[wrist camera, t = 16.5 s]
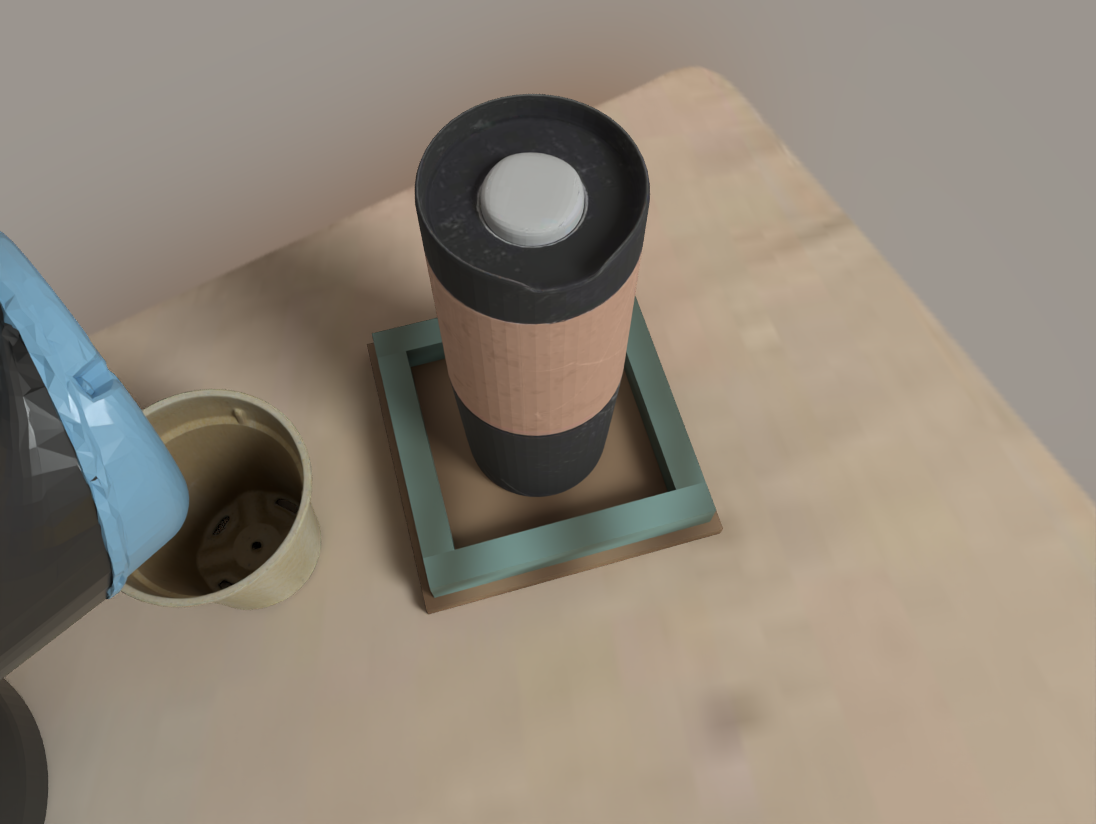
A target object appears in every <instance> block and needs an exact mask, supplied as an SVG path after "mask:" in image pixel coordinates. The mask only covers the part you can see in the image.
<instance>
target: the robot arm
mask: <svg viewBox="0 0 1096 824" xmlns="http://www.w3.org/2000/svg"><path fill="white" fill-rule="evenodd" d="M188 508H189V492H188V488H187V484H186V481H185V479H184V477H183V475H182V473H181V471H180V469H179V467H178V466H177V464H176V462H175V460H174V459H173V457H172V456H171V454H170V452H169V451H168V449H167V448H166V446H165V444H164V443H163V441H162V440H161V438H160V437H159V435H158V434H157V432H156V431H155V429H154V428H153V426H152V425H151V424H150V422H149V421H148V419H147V418H146V416H145V415H144V413H143V412H142V410H141V409H140V408H139V406H138V405H137V403H136V402H135V401H134V399H133V398H132V397H131V395H130V394H129V392H128V391H127V390H126V388H125V387H124V386H123V384H122V383H121V382H120V381H119V379H118V378H117V377H116V376H115V374H113V373H112V372H111V371H109V369H108V368H107V365H106V361H105V360H104V359H103V358H102V356H101V355H100V354H99V352H98V351H97V350H96V348H95V347H94V346H93V344H92V343H91V341H90V339H89V338H88V336H87V334H86V333H85V332H84V330H83V329H82V328H81V326H80V325H79V324H78V322H77V321H76V319H75V318H74V317H73V315H72V314H71V313H70V312H69V310H68V309H67V307H66V306H65V305H64V304H63V302H62V301H61V300H60V298H59V297H58V296H57V295H56V293H55V292H54V291H53V289H52V288H51V287H50V286H49V284H48V283H47V282H46V281H45V279H44V278H43V277H42V276H41V274H40V273H39V272H38V271H37V269H36V268H35V267H34V266H33V265H32V263H31V262H30V261H29V260H28V258H26V256H25V255H24V254H23V253H22V252H21V250H20V249H19V248H18V247H17V246H16V245H15V244H14V243H13V241H11V240H10V239H9V238H8V237H7V236H6V235H5V234H4V233H2V232H1V231H0V824H44V821H45V816H46V808H47V798H48V771H47V761H46V755H45V749H44V745H43V741H42V738H41V735H40V732H39V729H38V726H37V724H36V722H35V719H34V717H33V715H32V714H31V712H30V710H29V708H28V706H27V705H26V703H25V702H24V701H23V699H22V698H21V696H20V695H19V694H18V693H17V692H16V690H15V689H14V688H13V687H12V686H11V685H10V684H9V683H8V682H7V681H5V680H4V679H3V678H4V677H5V676H6V675H8V674H9V673H10V672H12V671H13V670H14V669H15V668H17V667H18V666H19V665H21V664H22V663H23V662H25V661H26V660H27V659H28V658H30V657H31V656H32V655H34V654H35V653H36V652H38V651H39V650H40V649H41V648H43V647H44V646H45V645H47V644H48V643H49V642H51V641H52V640H53V639H54V638H56V637H57V636H58V635H60V634H61V633H62V632H63V631H65V630H66V629H67V628H69V627H70V626H71V625H73V624H74V623H75V622H76V621H78V620H79V619H80V618H82V617H83V616H84V615H86V614H87V613H88V612H89V611H91V610H92V609H93V608H95V607H96V606H97V605H99V604H100V603H101V602H102V601H104V600H105V599H110V598H112V597H113V596H114V595H116V594H117V593H118V592H120V591H121V589H122V588H123V586H124V585H125V582H126V580H127V577H128V576H129V575H130V574H131V573H133V572H134V571H135V570H136V569H137V568H138V567H139V566H141V565H142V564H143V563H144V562H145V561H146V560H147V559H149V558H150V557H151V556H152V555H153V554H154V553H156V552H157V551H158V550H159V549H160V548H161V547H162V546H164V545H165V544H166V543H167V542H168V541H169V540H170V539H172V538H173V537H174V536H175V535H176V533H177V532H178V531H179V530H180V528H181V527H182V525H183V523H184V521H185V519H186V516H187V513H188Z"/></svg>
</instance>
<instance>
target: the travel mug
mask: <svg viewBox="0 0 1096 824" xmlns="http://www.w3.org/2000/svg"><path fill="white" fill-rule="evenodd" d="M649 202H650V183H649V177H648V171H647V168H646V165H645V162H644V159H643V157H642V155H641V153H640V151H639V149H638V147H637V145H636V144H635V143H634V141H633V140H632V138H631V137H630V136H629V134H628V133H627V132H626V131H625V130H624V129H623V128H622V127H621V126H620V125H619V124H617V123H616V122H615V121H614V120H612V119H611V118H610V117H608V116H607V115H605V114H604V113H602V112H600V111H599V110H597V109H595V108H593V107H591V106H589V105H586V104H584V103H580V102H578V101H575V100H572V99H568V98H564V97H560V96H553V95H545V94H523V95H512V96H507V97H501V98H498V99H494V100H490V101H487V102H485V103H482V104H480V105H477V106H475V107H473V108H471V109H469V110H467V111H465V112H463V113H461V114H460V115H459V116H457V117H456V118H454V119H453V120H451V121H450V122H449V123H448V124H447V125H446V126H444V127H443V128H442V129H441V130H440V131H439V133H438V134H437V135H436V136H435V137H434V138H433V139H432V141H431V142H430V144H429V145H428V147H427V149H426V150H425V153H424V155H423V157H422V159H421V161H420V164H419V167H418V170H417V175H416V181H415V205H416V211H417V216H418V221H419V226H420V231H421V236H422V241H423V246H424V251H425V257H426V262H427V267H428V272H429V277H430V282H431V287H432V292H433V297H434V302H435V308H436V313H437V318H438V323H439V328H440V333H441V338H442V343H443V348H444V354H445V359H446V364H447V369H448V374H449V377H450V382H451V385H452V389H453V392H454V395H455V399H456V402H457V406H458V409H459V413H460V416H461V420H462V423H463V427H464V430H465V433H466V437H467V440H468V443H469V446H470V449H471V452H472V455H473V457H474V459H475V461H476V463H477V465H478V466H479V468H480V469H481V471H482V472H483V473H484V474H485V475H486V476H487V477H488V478H489V479H490V480H491V481H492V482H494V483H495V484H496V485H498V486H500V487H501V488H503V489H505V490H507V491H509V492H512V493H515V494H518V495H522V496H528V497H545V496H551V495H556V494H559V493H562V492H565V491H567V490H569V489H571V488H573V487H574V486H576V485H577V484H579V483H580V482H582V481H583V480H584V479H585V478H586V477H587V476H588V475H589V474H590V473H591V472H592V471H593V469H594V468H595V466H596V465H597V463H598V461H599V459H600V457H601V455H602V452H603V449H604V446H605V442H606V439H607V435H608V431H609V427H610V423H611V419H612V415H613V411H614V407H615V403H616V399H617V395H618V391H619V387H620V383H621V379H622V374H623V369H624V363H625V356H626V350H627V343H628V337H629V330H630V324H631V318H632V311H633V305H634V298H635V292H636V285H637V279H638V272H639V266H640V260H641V253H642V247H643V240H644V234H645V228H646V221H647V215H648V208H649Z"/></svg>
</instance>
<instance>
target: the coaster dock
mask: <svg viewBox="0 0 1096 824" xmlns="http://www.w3.org/2000/svg"><path fill="white" fill-rule="evenodd" d="M372 336H373V341H374V343H371V344H367V347H368V351H369V356H370V360H371V365H372V369H373V374H374V378H375V382H376V387H377V391H378V396H379V400H380V405H381V409H382V414H383V418H384V423H385V427H386V432H387V436H388V441H389V445H390V450H391V454H392V458H393V463H394V467H395V472H396V476H397V481H398V485H399V490H400V494H401V499H402V503H403V508H404V512H405V517H406V521H407V525H408V530H409V534H410V539H411V543H412V548H413V552H414V557H415V561H416V566H417V570H418V575H419V579H420V584H421V588H422V593H423V597H424V601H425V606H426V610H427V612H428V614H431V613H435V612H439V611H442V610H446V609H449V608H453V607H457V606H460V605H464V604H467V603H471V602H475V601H478V600H482V599H485V598H489V597H493V596H496V595H500V594H503V593H507V592H511V591H514V590H518V589H521V588H525V587H529V586H532V585H536V584H539V583H543V582H546V581H550V580H554V579H557V578H561V577H564V576H568V575H572V574H575V573H579V572H582V571H586V570H590V569H593V568H597V567H600V566H604V565H608V564H611V563H615V562H618V561H622V560H626V559H629V558H633V557H636V556H640V555H643V554H647V553H651V552H654V551H658V550H661V549H665V548H669V547H672V546H676V545H679V544H683V543H687V542H690V541H694V540H697V539H701V538H705V537H708V536H712V535H715V534H719V533H720V532H721V531H722V529H723V527H722V525H721V522H720V519H719V517H718V514H717V511H716V508H715V506H714V503H713V500H712V498H711V495H710V492H709V490H708V487H707V484H706V482H705V479H704V477H703V474H702V471H701V469H700V466H699V463H698V461H697V458H696V455H695V453H694V450H693V447H692V445H691V442H690V439H689V437H688V434H687V431H686V429H685V426H684V424H683V421H682V418H681V416H680V413H679V410H678V408H677V405H676V402H675V400H674V397H673V394H672V392H671V389H670V386H669V384H668V381H667V378H666V376H665V373H664V371H663V368H662V365H661V363H660V360H659V357H658V355H657V352H656V349H655V347H654V344H653V341H652V339H651V336H650V333H649V331H648V328H647V325H646V323H645V320H644V318H643V315H642V312H641V310H640V307H639V304H638V302H637V299H636V296H635V298H634V305H633V311H632V318H631V324H630V330H629V337H628V343H627V350H626V356H625V363H624V369H623V374H622V379H621V383H620V387H619V391H618V395H617V399H616V403H615V407H614V411H613V415H612V419H611V423H610V427H609V431H608V435H607V439H606V442H605V446H604V449H603V452H602V455H601V457H600V459H599V461H598V463H597V465H596V466H595V468H594V469H593V471H592V472H591V473H590V474H589V475H588V476H587V477H586V478H585V479H584V480H583V481H582V482H580V483H579V484H577V485H576V486H574V487H573V488H571V489H569V490H567V491H565V492H562V493H559V494H556V495H551V496H545V497H528V496H522V495H518V494H515V493H512V492H509V491H507V490H505V489H503V488H501V487H500V486H498V485H496V484H495V483H494V482H492V481H491V480H490V479H489V478H488V477H487V476H486V475H485V474H484V473H483V472H482V471H481V469H480V468H479V466H478V465H477V463H476V461H475V459H474V457H473V455H472V452H471V449H470V446H469V443H468V440H467V437H466V433H465V430H464V427H463V423H462V420H461V416H460V413H459V409H458V406H457V402H456V399H455V395H454V392H453V389H452V385H451V382H450V377H449V374H448V369H447V364H446V359H445V354H444V348H443V343H442V338H441V333H440V328H439V323H438V318H435V319H430V320H426V321H422V322H418V323H414V324H409V325H405V326H401V327H397V328H393V329H389V330H384V331H380V332H376V333H372Z"/></svg>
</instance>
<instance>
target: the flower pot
mask: <svg viewBox="0 0 1096 824" xmlns="http://www.w3.org/2000/svg"><path fill="white" fill-rule="evenodd" d="M142 412H143V413H144V415H145V416H146V418H147V419H148V421H149V422H150V424H151V425H152V426H153V428H154V429H155V431H156V432H157V434H158V435H159V437H160V438H161V440H162V441H163V443H164V444H165V446H166V448H167V449H168V451H169V452H170V454H171V456H172V457H173V459H174V460H175V462H176V464H177V466H178V467H179V469H180V471H181V473H182V475H183V477H184V479H185V481H186V484H187V488H188V492H189V508H188V513H187V516H186V519H185V521H184V523H183V525H182V527H181V528H180V530H179V531H178V532H177V533H176V535H175V536H174V537H173V538H172V539H170V540H169V541H168V542H167V543H166V544H165V545H164V546H162V547H161V548H160V549H159V550H158V551H157V552H156V553H154V554H153V555H152V556H151V557H150V558H149V559H147V560H146V561H145V562H144V563H143V564H142V565H141V566H139V567H138V568H137V569H136V570H135V571H134V572H133V573H131V574H130V575H129V576H128V577H127V580H126V582H125V585H124V586H123V588H122V589H121V591H122V592H123V593H125V594H127V595H129V596H131V597H133V598H135V599H138V600H140V601H143V602H147V603H150V604H154V605H159V606H165V607H192V606H199V605H204V604H209V603H218V604H222V605H226V606H229V607H233V608H237V609H243V610H253V609H260V608H265V607H268V606H271V605H274V604H277V603H279V602H281V601H284V600H285V599H287V598H289V597H290V596H292V595H293V594H294V593H295V592H296V591H298V590H299V589H300V588H301V587H302V586H303V585H304V584H305V582H306V581H307V580H308V578H309V577H310V575H311V574H312V572H313V570H314V568H315V566H316V563H317V561H318V558H319V554H320V549H321V533H320V526H319V523H318V520H317V518H316V515H315V513H314V510H313V507H312V505H311V502H310V499H311V492H312V470H311V463H310V459H309V456H308V452H307V449H306V447H305V444H304V442H303V440H302V438H301V436H300V434H299V432H298V431H297V429H296V428H295V427H294V425H293V424H292V423H291V422H290V421H289V419H288V418H287V417H286V416H285V415H284V414H282V413H281V412H280V411H279V410H277V409H276V408H275V407H273V406H271V405H270V404H269V403H267V402H265V401H263V400H261V399H259V398H256V397H254V396H251V395H248V394H245V393H242V392H236V391H231V390H223V389H206V390H195V391H190V392H185V393H182V394H177V395H174V396H172V397H169V398H165V399H163V400H161V401H158V402H156V403H155V404H153V405H151V406H149V407H147V408H145V409H143V410H142ZM278 499H283V500H288V501H290V502H291V503H294V504H295V505H296V507H297V508H298V511H297V512H296V513H292V512H291V511H289V510H287V509H285V508H284V507H282V506H280V505H277V504H276V501H277V500H278ZM225 517H229V520H228V522H227V523H226V525H225V527H226V528H225V530H224V529H223V530H221V532H220V533H219V534H218V535H214V534H213V533H214V531H215V529H216V528H217V526H218V525H219V523H220V522H221V520H223V519H224V518H225ZM255 542H260V543H261V547H260V548H259V549H253V547H252V546H253V544H254V543H255ZM223 580H226V581H228V582H229V583H231V584H233V585H231V586H229V587H227V588H225V589H221V587H220V585H219V584H220V583H221V582H222V581H223Z"/></svg>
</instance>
